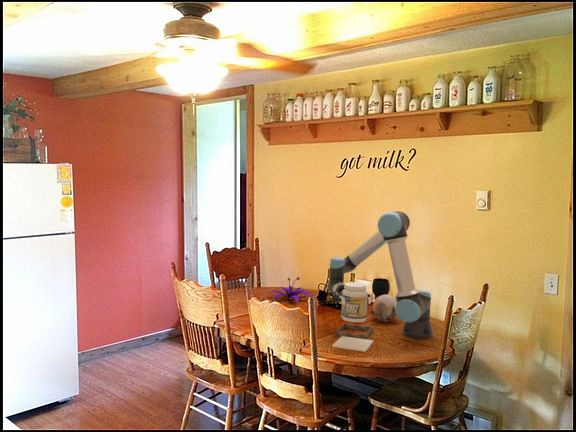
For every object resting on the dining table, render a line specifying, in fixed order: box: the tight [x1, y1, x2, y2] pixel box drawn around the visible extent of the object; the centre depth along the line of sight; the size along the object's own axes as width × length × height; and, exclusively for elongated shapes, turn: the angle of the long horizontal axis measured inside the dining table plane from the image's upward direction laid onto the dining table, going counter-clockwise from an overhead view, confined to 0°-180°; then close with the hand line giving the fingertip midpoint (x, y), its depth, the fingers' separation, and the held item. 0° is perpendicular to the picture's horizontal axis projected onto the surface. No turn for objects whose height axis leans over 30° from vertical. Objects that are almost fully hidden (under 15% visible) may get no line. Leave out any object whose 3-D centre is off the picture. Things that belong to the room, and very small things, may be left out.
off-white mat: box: [331, 336, 374, 353], centre depth 249 cm, size 16×16×1 cm
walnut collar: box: [334, 322, 374, 340], centre depth 266 cm, size 16×16×2 cm
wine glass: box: [370, 277, 391, 315], centre depth 309 cm, size 10×10×20 cm
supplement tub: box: [340, 282, 368, 323], centre depth 248 cm, size 12×12×17 cm
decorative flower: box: [267, 276, 313, 303], centre depth 337 cm, size 28×31×15 cm
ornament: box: [372, 294, 398, 323], centre depth 291 cm, size 15×15×15 cm
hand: (357, 301), depth 244 cm, fingers closed on supplement tub, 12 cm apart
